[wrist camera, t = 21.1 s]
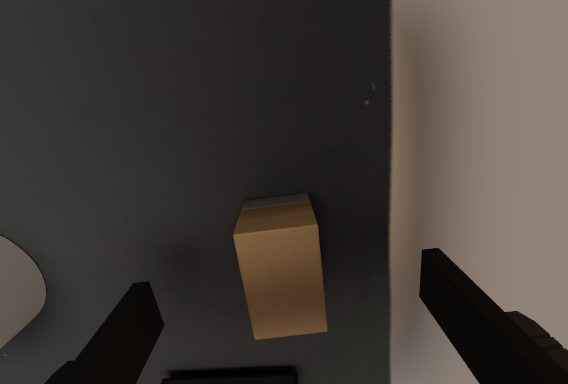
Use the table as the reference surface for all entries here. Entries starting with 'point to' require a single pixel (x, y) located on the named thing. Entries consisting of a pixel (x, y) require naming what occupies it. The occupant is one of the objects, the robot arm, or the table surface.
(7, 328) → the cup
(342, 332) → the table surface
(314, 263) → the eraser
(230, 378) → the toy truck
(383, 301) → the table surface
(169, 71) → the table surface
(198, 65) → the table surface
